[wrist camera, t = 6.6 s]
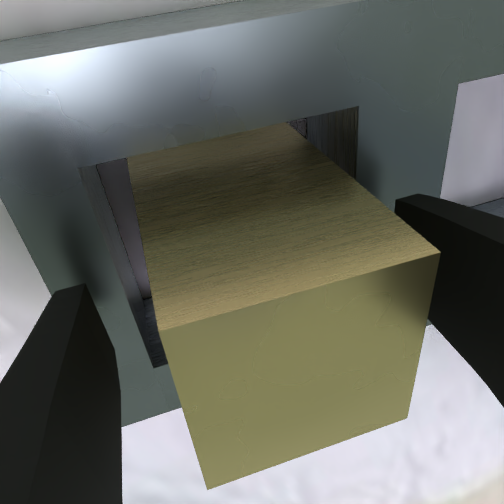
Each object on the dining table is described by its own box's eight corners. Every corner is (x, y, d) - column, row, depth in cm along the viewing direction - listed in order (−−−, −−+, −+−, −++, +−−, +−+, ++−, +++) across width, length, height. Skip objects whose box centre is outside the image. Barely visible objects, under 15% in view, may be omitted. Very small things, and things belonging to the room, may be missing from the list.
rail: (627, -64, 12) (753, -69, 10) (532, 228, 18) (598, 268, 16) (-24, 45, 9) (-63, 75, 7) (115, 354, 15) (119, 427, 13)
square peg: (283, 119, 12) (441, 252, 7) (290, 248, 15) (406, 418, 9) (125, 151, 12) (158, 331, 6) (161, 281, 14) (207, 489, 9)
